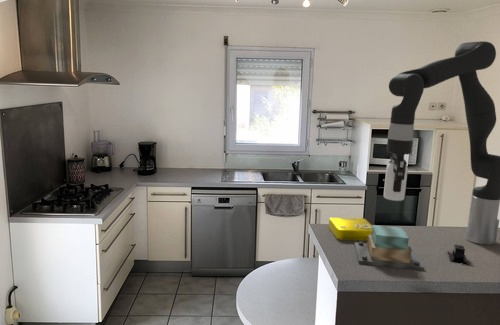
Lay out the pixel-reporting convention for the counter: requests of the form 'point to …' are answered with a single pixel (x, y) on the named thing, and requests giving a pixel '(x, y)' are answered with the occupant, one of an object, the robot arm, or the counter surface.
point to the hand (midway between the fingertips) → (394, 189)
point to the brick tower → (388, 249)
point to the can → (389, 183)
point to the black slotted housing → (458, 255)
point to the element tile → (350, 228)
